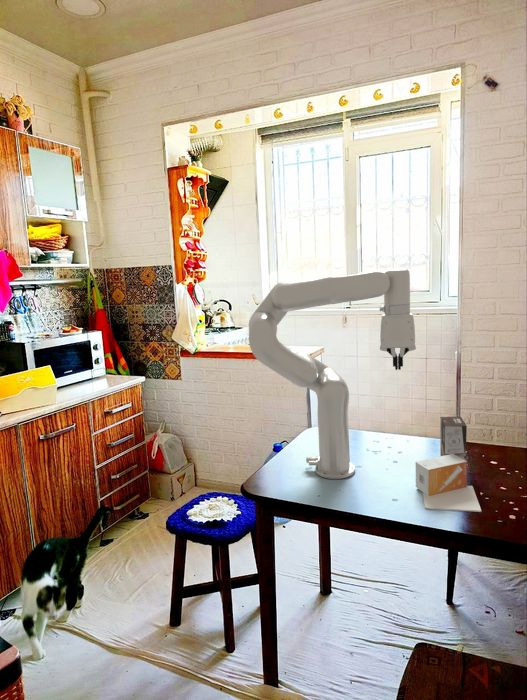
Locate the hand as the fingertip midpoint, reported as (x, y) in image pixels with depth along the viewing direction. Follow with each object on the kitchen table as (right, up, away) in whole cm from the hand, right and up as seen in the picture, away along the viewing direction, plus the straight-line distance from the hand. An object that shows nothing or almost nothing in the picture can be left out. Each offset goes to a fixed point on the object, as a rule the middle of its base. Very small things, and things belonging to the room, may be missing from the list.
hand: (397, 368), depth 154 cm
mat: (+10, -35, -16) cm, 40 cm away
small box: (+3, -31, -13) cm, 34 cm away
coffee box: (+17, -32, 0) cm, 36 cm away
